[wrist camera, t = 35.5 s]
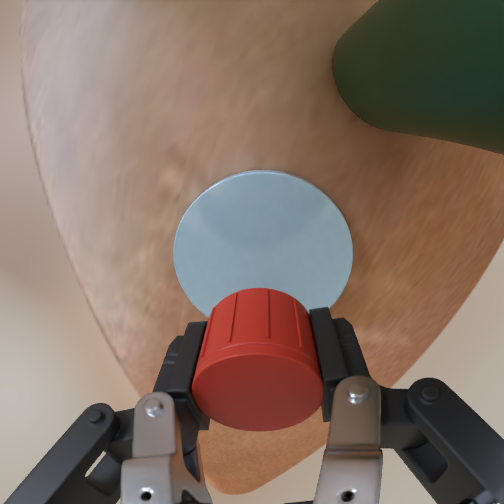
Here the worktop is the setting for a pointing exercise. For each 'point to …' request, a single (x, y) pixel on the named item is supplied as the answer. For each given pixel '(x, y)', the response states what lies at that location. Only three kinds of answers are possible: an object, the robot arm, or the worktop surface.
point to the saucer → (263, 241)
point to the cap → (258, 362)
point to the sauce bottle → (427, 69)
